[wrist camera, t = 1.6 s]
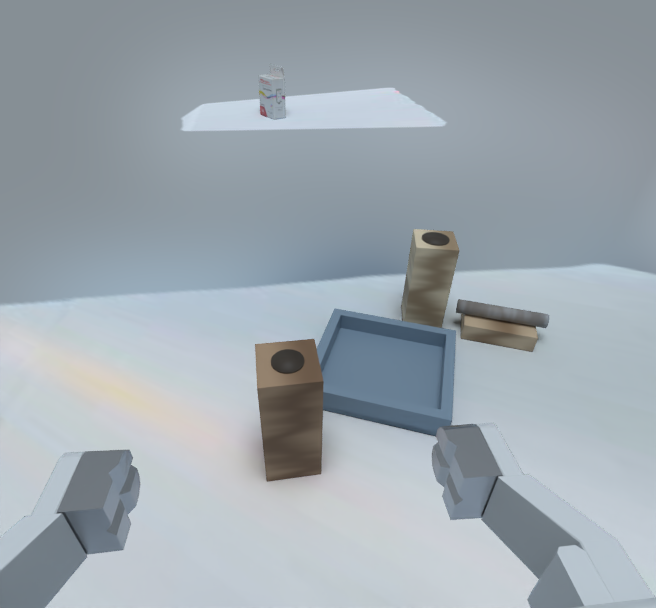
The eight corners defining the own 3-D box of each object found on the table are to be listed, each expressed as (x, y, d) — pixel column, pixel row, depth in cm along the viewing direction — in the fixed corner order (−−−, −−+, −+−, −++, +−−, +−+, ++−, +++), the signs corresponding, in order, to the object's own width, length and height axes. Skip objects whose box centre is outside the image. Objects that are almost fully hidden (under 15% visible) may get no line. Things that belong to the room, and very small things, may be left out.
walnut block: (266, 481, 35) (257, 386, 28) (264, 436, 39) (254, 342, 32) (320, 473, 36) (323, 379, 29) (313, 430, 39) (314, 337, 33)
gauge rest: (452, 336, 51) (458, 312, 49) (453, 312, 55) (459, 289, 52) (541, 353, 49) (552, 328, 47) (536, 327, 53) (545, 303, 50)
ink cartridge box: (259, 114, 142) (256, 64, 133) (272, 113, 144) (270, 63, 136) (273, 119, 136) (271, 67, 128) (286, 118, 139) (285, 66, 130)
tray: (300, 404, 42) (299, 386, 40) (334, 325, 52) (334, 308, 50) (446, 438, 39) (451, 420, 37) (451, 347, 49) (456, 330, 48)
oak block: (403, 328, 52) (416, 246, 45) (401, 306, 55) (413, 227, 49) (440, 331, 51) (459, 249, 45) (436, 309, 55) (453, 230, 49)
